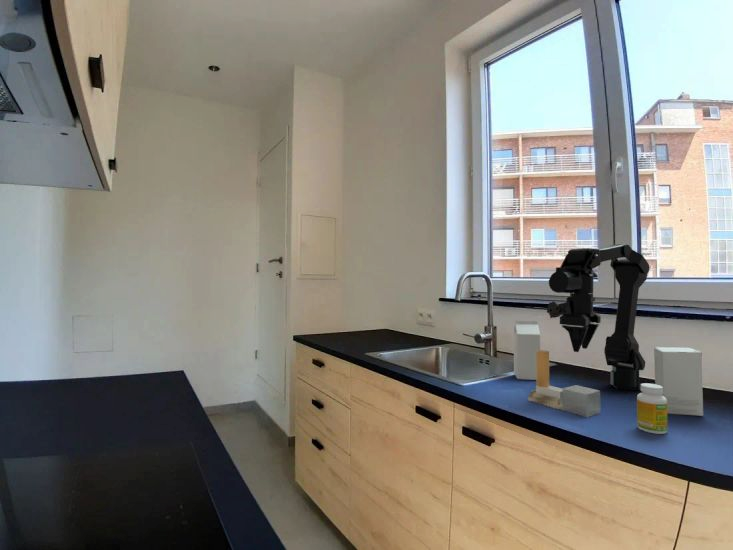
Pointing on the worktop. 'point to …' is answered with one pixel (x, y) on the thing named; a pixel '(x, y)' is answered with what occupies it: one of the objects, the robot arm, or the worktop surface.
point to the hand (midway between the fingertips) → (580, 350)
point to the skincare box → (680, 379)
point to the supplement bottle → (652, 409)
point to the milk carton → (526, 349)
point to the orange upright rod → (545, 377)
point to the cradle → (545, 400)
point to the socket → (581, 400)
